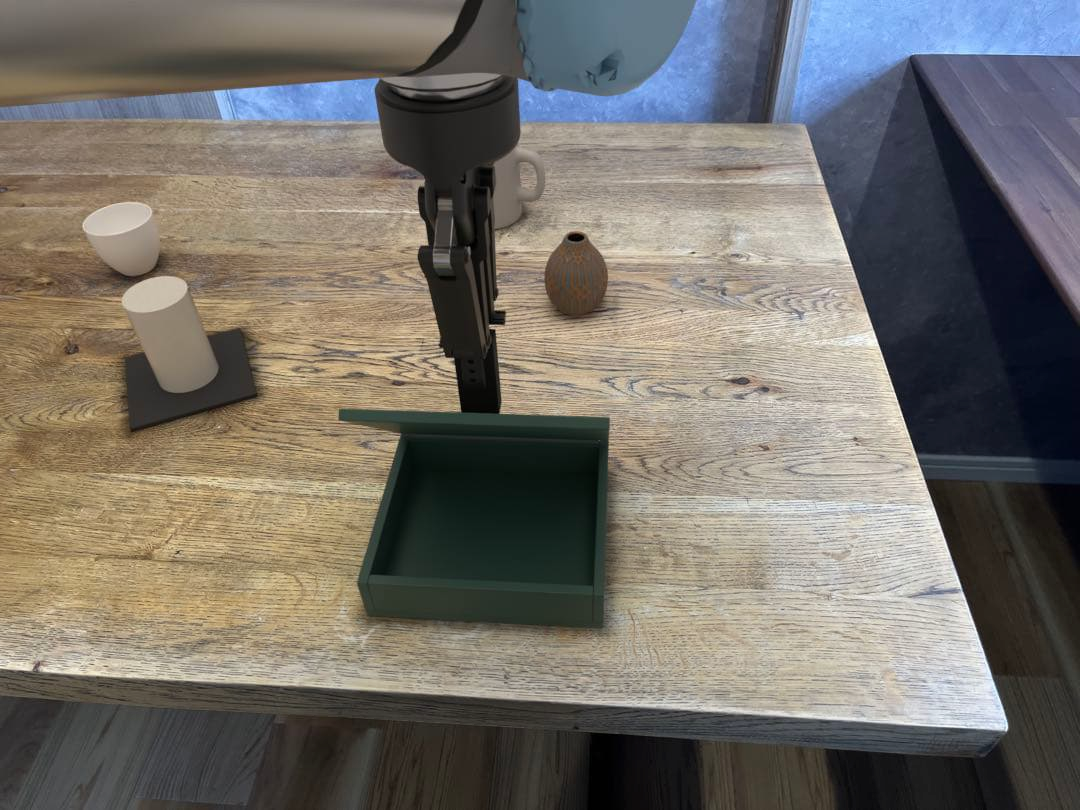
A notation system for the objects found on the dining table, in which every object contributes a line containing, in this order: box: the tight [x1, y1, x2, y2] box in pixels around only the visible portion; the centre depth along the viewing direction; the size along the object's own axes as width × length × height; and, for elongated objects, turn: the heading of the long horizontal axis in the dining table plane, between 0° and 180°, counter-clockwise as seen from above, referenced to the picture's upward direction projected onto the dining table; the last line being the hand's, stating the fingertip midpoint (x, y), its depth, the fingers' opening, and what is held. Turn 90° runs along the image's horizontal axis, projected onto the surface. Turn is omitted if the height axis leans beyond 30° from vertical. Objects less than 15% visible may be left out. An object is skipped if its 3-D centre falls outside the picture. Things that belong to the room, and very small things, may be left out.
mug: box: [493, 142, 546, 230], centre depth 103 cm, size 12×8×11 cm
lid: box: [338, 408, 611, 442], centre depth 62 cm, size 16×18×1 cm
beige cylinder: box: [121, 275, 219, 393], centre depth 81 cm, size 6×6×10 cm
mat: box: [124, 327, 258, 432], centre depth 84 cm, size 12×12×1 cm
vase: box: [543, 230, 609, 317], centre depth 88 cm, size 7×7×9 cm
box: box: [356, 434, 610, 629], centre depth 66 cm, size 16×18×4 cm
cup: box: [81, 201, 161, 277], centre depth 99 cm, size 8×10×7 cm
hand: (481, 407), depth 58 cm, fingers closed
